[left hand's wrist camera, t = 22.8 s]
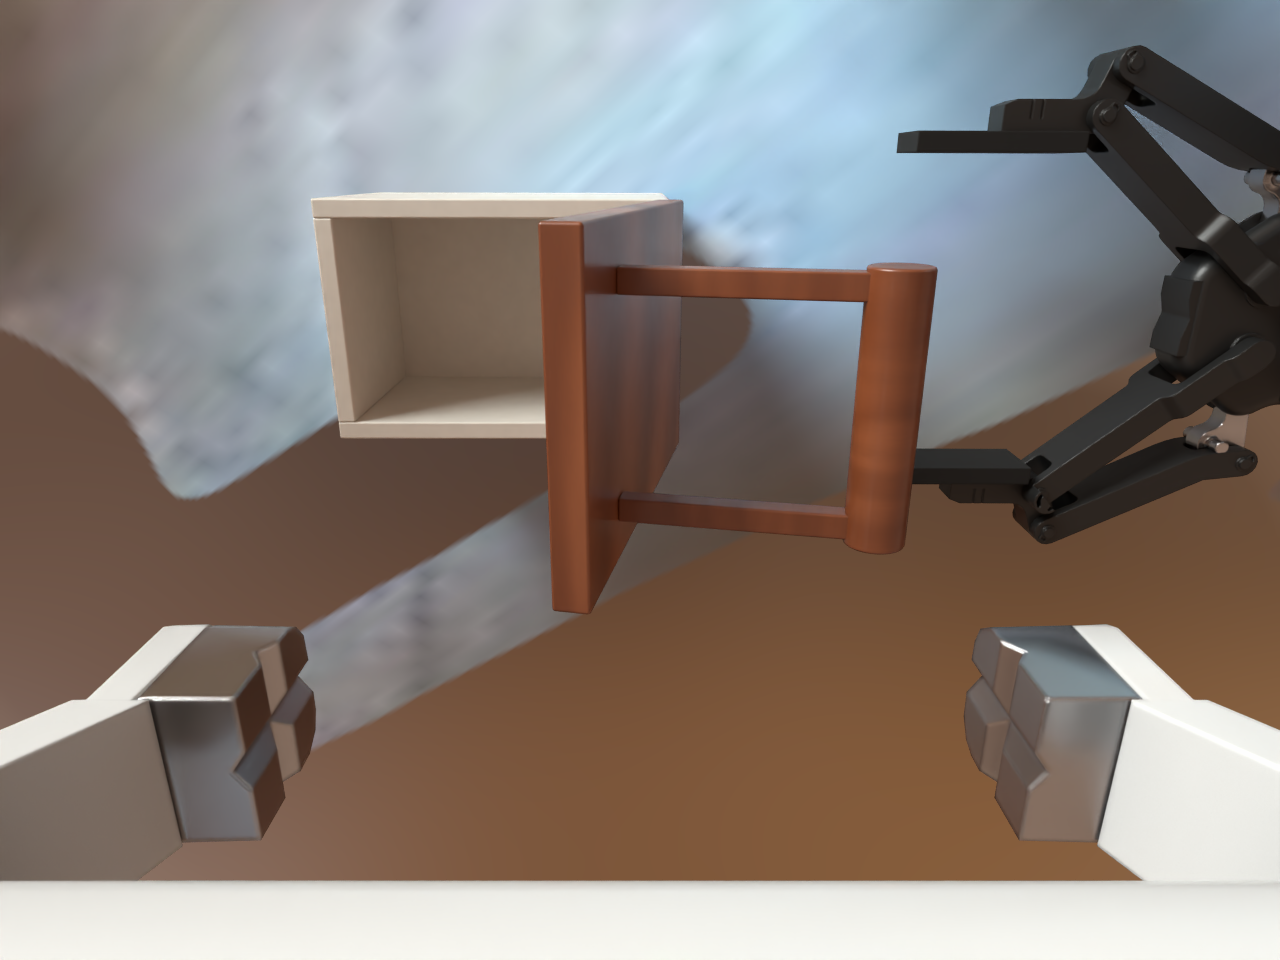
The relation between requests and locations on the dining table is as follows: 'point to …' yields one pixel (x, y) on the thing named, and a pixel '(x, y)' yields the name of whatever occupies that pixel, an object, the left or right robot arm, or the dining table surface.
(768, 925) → the left robot arm
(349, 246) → the chest
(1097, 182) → the dining table surface
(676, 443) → the lid
